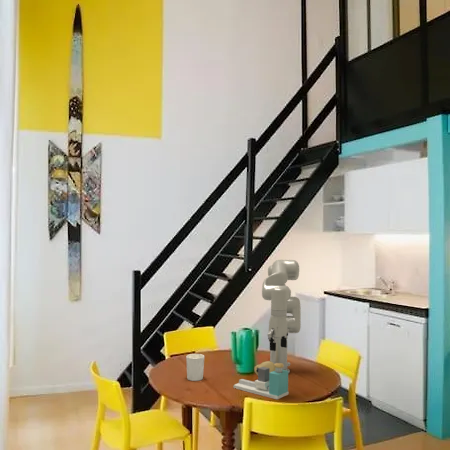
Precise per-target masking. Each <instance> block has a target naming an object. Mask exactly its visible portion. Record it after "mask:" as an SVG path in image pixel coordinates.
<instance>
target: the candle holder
mask: <svg viewBox="0 0 450 450" xmlns="http://www.w3.org/2000/svg"><path fill="white" fill-rule="evenodd" d="M185 357H186V362H185V363H186V377H187V380H188V381H192V382H199V381H202V380H203V379H204V369H205V368H204V367H205V366H204V365H205V355H204V354H201V353H190V354H187V355H186V356H185Z"/></svg>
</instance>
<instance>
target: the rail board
mask: <svg viewBox="0 0 450 450" xmlns="http://www.w3.org/2000/svg"><path fill="white" fill-rule="evenodd" d="M235 388H236V390H239V391H243V392H248V393H251V394H255V395H259V396H263V397H266V398H270V399H274V400H280V399H281V398H283V397H286V396H288V395H289V374H288V371H287V370H282V373H277V372H275V371H273V372H270V373H269V386H267V390H264V389H260V388H256V385H255V381H252V380H248V379H244V378H241V379H238V383H235V384H233V389H235Z"/></svg>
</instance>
